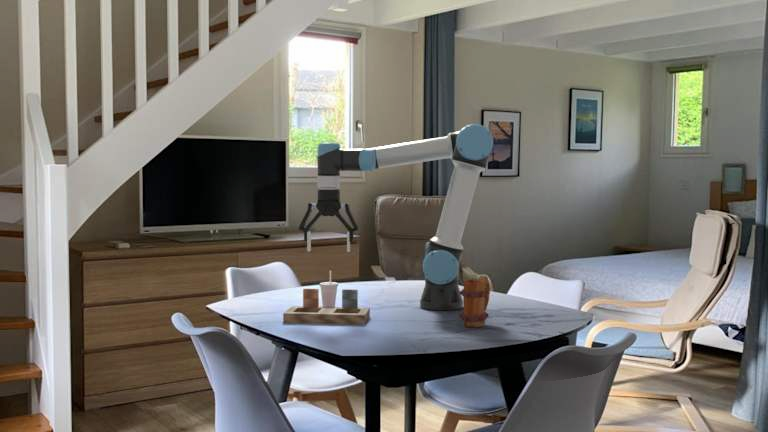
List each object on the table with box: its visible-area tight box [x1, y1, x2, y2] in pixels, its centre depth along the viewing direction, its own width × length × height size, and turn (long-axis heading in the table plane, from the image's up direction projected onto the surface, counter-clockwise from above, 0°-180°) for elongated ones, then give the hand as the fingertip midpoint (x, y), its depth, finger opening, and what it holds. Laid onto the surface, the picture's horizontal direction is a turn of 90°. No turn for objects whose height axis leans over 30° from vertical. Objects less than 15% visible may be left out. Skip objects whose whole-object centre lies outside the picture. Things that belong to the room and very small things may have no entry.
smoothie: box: [319, 270, 339, 307], centre depth 271 cm, size 6×6×14 cm
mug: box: [458, 275, 491, 328], centre depth 249 cm, size 15×8×15 cm, turn 148°
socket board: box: [282, 288, 371, 325], centre depth 256 cm, size 26×13×9 cm, turn 84°
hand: (328, 251), depth 270 cm, fingers open, 13 cm apart
